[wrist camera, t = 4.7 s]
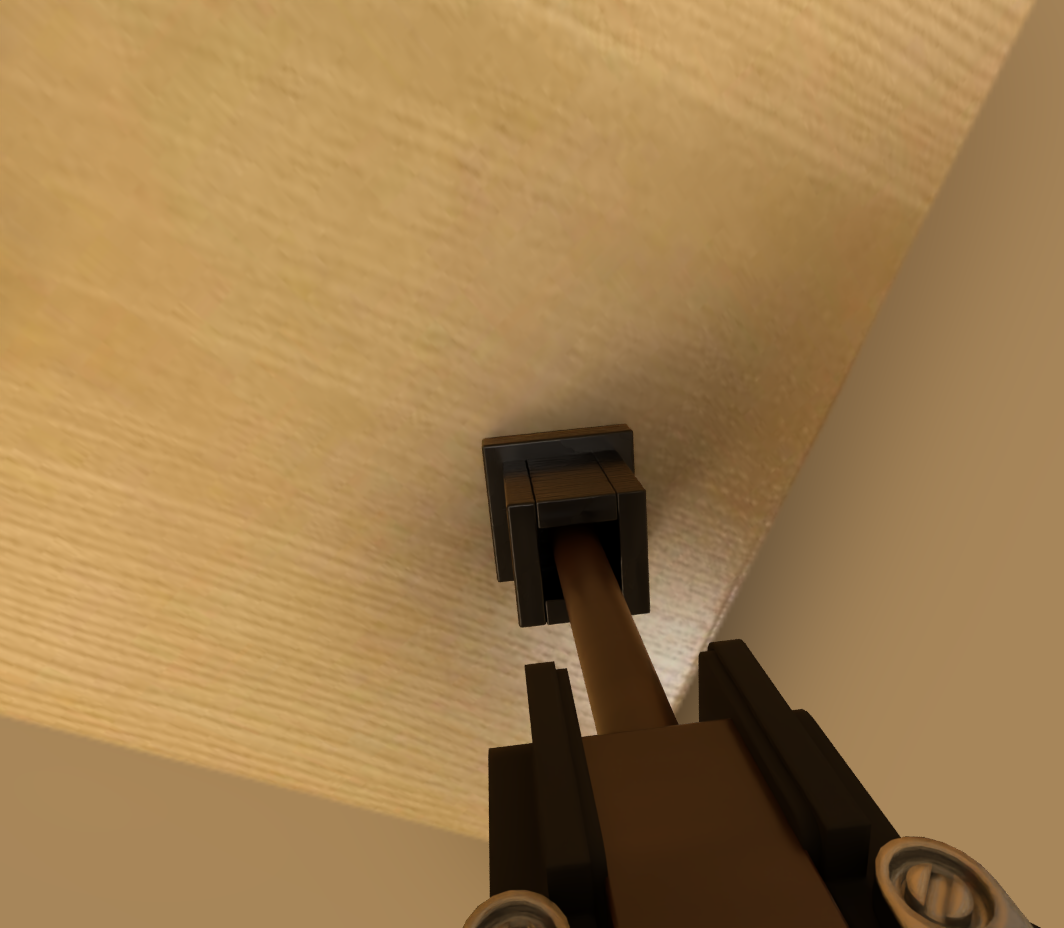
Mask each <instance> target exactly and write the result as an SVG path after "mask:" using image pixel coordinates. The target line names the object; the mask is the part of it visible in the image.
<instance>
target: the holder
mask: <svg viewBox="0 0 1064 928" xmlns="http://www.w3.org/2000/svg"><path fill="white" fill-rule="evenodd" d="M482 453H483V462H484V470H485V479H486V487H487V496H488V504H489V513H490V522H491V530H492V539H493V547H494V556H495V564H496V573H497V580H498V582H506V581H514V584H515V593H516V602H517V612H518V621H519V626H520V627H522V628H523V627H531V626H540V625H545V624H546V622H547V624H548V625H552V624H560V623H569V622H570V620H569V616H568V612H567V608H566V604H565V600H564V596H563V592H562V588H561V584H560V580H559V575H558V571H557V567H556V563H555V559H554V555H553V551H552V547H551V543H550V539H549V535H548V531H547V528H549V527H558V526H567V525H576V524H585V523H592V524H593V527H594V529H595V531H596V534H597V536H598V538H599V541H600V543H601V545H602V548H603V550H604V552H605V555H606V557H607V559H608V562H609V564H610V566H611V568H612V571H613V573H614V575H615V578H616V580H617V582H618V585H619V587H620V589H621V592H622V594H623V596H624V599H625V601H626V603H627V606H628V608H629V610H630V613H631V615H638V614H646V613H650V593H649V565H648V537H647V509H646V490H645V489H644V488H643V486H642V485H641V483H640V482H639V481H638V479H637V478H636V477H635V469H634V444H633V431H632V430H631V429H630V428H629V426H628V425H627V424H620V425H610V426H600V427H591V428H581V429H572V430H562V431H552V432H543V433H533V434H524V435H514V436H505V437H495V438H485V439H483V440H482Z"/></svg>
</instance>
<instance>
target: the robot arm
mask: <svg viewBox="0 0 1064 928" xmlns="http://www.w3.org/2000/svg"><path fill="white" fill-rule="evenodd" d="M525 674H526V684H527V694H528V703H529V713H530V722H531V732H532V742H533V743H529V744H521V745H513V746H505V747H497V748H489V754H488V767H489V858H490V863H489V865H490V898H489V899H488V900H486V901H485V902H483V903H482V904H480V905H479V906H478V907H477V908H476V909H475V910H474V912H473V913H472V914H471V915H470V916H469V918H468V919H467V920H466V922H465V924H464V926H463V928H607V914H606V900H605V886H604V880H605V878H606V877H608V869H607V861H606V854H605V848H604V842H603V837H602V832H601V827H600V823H599V818H598V813H597V808H596V804H595V799H594V794H593V789H592V785H591V780H590V775H589V770H588V766H587V761H586V756H585V751H584V747H583V742H582V737H581V732H580V727H579V723H578V718H577V713H576V708H575V704H574V699H573V694H572V689H571V685H570V680H569V675H568V671H567V668H565V669H557V670H556V668H555V663H554V661H553V662H545V663H536V664H528V665H525ZM728 718H731V719H732V721H733V722H734V724H735V726H736V728H737V730H738V731H739V733H740V735H741V737H742V739H743V740H744V742H745V744H746V746H747V748H748V750H749V751H750V753H751V755H752V757H753V759H754V760H755V762H756V764H757V766H758V768H759V769H760V771H761V773H762V775H763V777H764V779H765V780H766V782H767V784H768V786H769V788H770V789H771V791H772V793H773V795H774V797H775V798H776V800H777V802H778V804H779V806H780V808H781V809H782V811H783V813H784V815H785V817H786V818H787V820H788V822H789V824H790V826H791V827H792V829H793V831H794V833H795V835H796V837H797V838H798V840H799V842H800V844H801V846H802V847H803V849H804V850H807V852H808V854H809V856H810V858H811V859H812V861H813V863H814V865H815V867H816V868H817V870H818V872H819V874H820V876H821V877H822V879H823V881H824V883H825V885H826V886H827V888H828V890H829V892H830V894H831V895H832V897H833V899H834V901H835V903H836V904H837V906H838V908H839V910H840V912H841V913H842V915H843V917H844V919H845V921H846V922H847V924H848V926H849V928H1040V927H1038V926H1036V925H1034V924H1032V923H1030V922H1029V921H1028V920H1027V919H1026V917H1025V916H1024V915H1023V913H1022V912H1021V911H1020V910H1019V908H1018V907H1017V906H1016V905H1015V903H1014V902H1013V901H1012V900H1011V898H1010V897H1009V895H1008V894H1007V893H1006V892H1005V890H1004V889H1003V888H1002V887H1001V885H1000V884H999V883H998V882H997V880H996V879H994V877H993V876H992V875H991V874H990V873H989V872H988V871H987V870H986V869H985V868H984V867H983V866H982V865H981V864H979V863H978V862H977V861H975V860H974V859H972V858H971V857H970V856H968V855H967V854H965V853H964V852H962V851H960V850H958V849H956V848H954V847H952V846H950V845H948V844H945V843H943V842H940V841H936V840H933V839H929V838H925V837H909V836H905V837H902V838H901V837H900V836H899V835H898V833H897V832H896V830H895V829H894V828H893V826H892V825H891V824H890V822H889V821H888V819H887V818H886V817H885V815H884V814H883V813H882V811H881V810H880V808H879V807H878V806H877V804H876V803H875V802H874V800H873V799H872V798H871V796H870V795H869V794H868V792H867V791H866V790H865V788H864V787H863V785H862V784H861V783H860V781H859V780H858V779H857V777H856V776H855V774H854V773H853V772H852V770H851V769H850V768H849V766H848V765H847V764H846V762H845V761H844V759H843V758H842V757H841V756H840V754H839V753H838V751H837V750H836V749H835V747H834V746H833V744H832V743H831V742H830V740H829V739H828V738H827V736H826V735H825V734H824V732H823V731H822V729H821V728H820V727H819V725H818V724H817V723H816V721H815V720H814V719H813V717H812V716H811V715H810V714H809V713H808V712H807V711H805V710H803V709H798V710H791V709H790V707H789V706H788V704H787V703H786V701H785V700H784V698H783V697H782V696H781V694H780V693H779V691H778V690H777V688H776V687H775V686H774V684H773V683H772V681H771V680H770V678H769V677H768V675H767V674H766V673H765V671H764V670H763V668H762V667H761V666H760V664H759V663H758V661H757V660H756V658H755V657H754V655H753V654H752V653H751V651H750V650H749V648H748V647H747V645H746V644H745V643H744V642H743V641H742V640H741V639H735V640H727V641H718V642H711V643H709V645H708V651H705V652H700V653H699V722H704V721H712V720H720V719H728Z"/></svg>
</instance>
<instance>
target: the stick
mask: <svg viewBox="0 0 1064 928" xmlns="http://www.w3.org/2000/svg"><path fill="white" fill-rule="evenodd" d="M547 531H548V535H549V539H550V543H551V547H552V551H553V555H554V559H555V563H556V567H557V571H558V575H559V580H560V584H561V588H562V592H563V596H564V600H565V604H566V608H567V612H568V616H569V620H570V624H571V628H572V632H573V637H574V641H575V645H576V649H577V653H578V657H579V661H580V665H581V669H582V673H583V677H584V681H585V685H586V689H587V694H588V698H589V702H590V706H591V710H592V714H593V718H594V722H595V726H596V730H597V734H598V735H593V736H585V737H582V742H583V747H584V751H585V756H586V761H587V766H588V770H589V775H590V780H591V785H592V789H593V794H594V799H595V804H596V808H597V813H598V818H599V823H600V827H601V832H602V837H603V842H604V848H605V854H606V861H607V869H608V877H606V878H605V880H604V886H605V900H606V914H607V928H849V926H848V924H847V922H846V921H845V919H844V917H843V915H842V913H841V912H840V910H839V908H838V906H837V904H836V903H835V901H834V899H833V897H832V895H831V894H830V892H829V890H828V888H827V886H826V885H825V883H824V881H823V879H822V877H821V876H820V874H819V872H818V870H817V868H816V867H815V865H814V863H813V861H812V859H811V858H810V856H809V854H808V852H807V850H804V849H803V847H802V846H801V844H800V842H799V840H798V838H797V837H796V835H795V833H794V831H793V829H792V827H791V826H790V824H789V822H788V820H787V818H786V817H785V815H784V813H783V811H782V809H781V808H780V806H779V804H778V802H777V800H776V798H775V797H774V795H773V793H772V791H771V789H770V788H769V786H768V784H767V782H766V780H765V779H764V777H763V775H762V773H761V771H760V769H759V768H758V766H757V764H756V762H755V760H754V759H753V757H752V755H751V753H750V751H749V750H748V748H747V746H746V744H745V742H744V740H743V739H742V737H741V735H740V733H739V731H738V730H737V728H736V726H735V724H734V722H733V721H732V719H731V718H728V719H720V720H712V721H704V722H696V723H688V724H680V725H678V722H677V720H676V718H675V715H674V713H673V711H672V708H671V706H670V704H669V701H668V699H667V697H666V694H665V692H664V690H663V687H662V685H661V683H660V680H659V678H658V676H657V673H656V671H655V669H654V666H653V664H652V662H651V659H650V657H649V655H648V652H647V650H646V648H645V645H644V643H643V641H642V638H641V636H640V634H639V631H638V629H637V627H636V624H635V622H634V620H633V617H632V615H631V613H630V610H629V608H628V606H627V603H626V601H625V599H624V596H623V594H622V592H621V589H620V587H619V585H618V582H617V580H616V578H615V575H614V573H613V571H612V568H611V566H610V564H609V562H608V559H607V557H606V555H605V552H604V550H603V548H602V545H601V543H600V541H599V538H598V536H597V534H596V531H595V529H594V527H593V524H592V523H585V524H576V525H567V526H558V527H549V528H547Z"/></svg>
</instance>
